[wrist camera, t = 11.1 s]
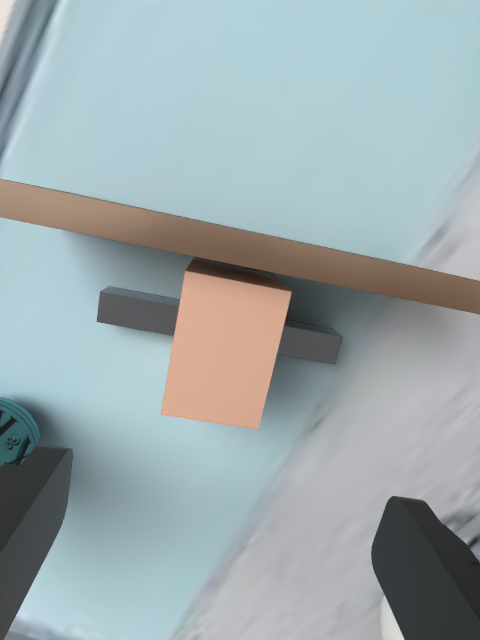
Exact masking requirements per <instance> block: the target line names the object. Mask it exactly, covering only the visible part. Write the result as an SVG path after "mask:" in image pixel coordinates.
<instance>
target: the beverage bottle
mask: <svg viewBox="0 0 480 640" xmlns="http://www.w3.org/2000/svg"><path fill="white" fill-rule="evenodd" d="M39 443H40V434H39V429H38V426H37V424H36V422H35V420H34V418H33V417H32V416H31V414H30V413H29V412H28V411H27V410H26V409H25V408H23V407H22V406H21V405H19V404H17V403H16V402H14V401H11V400H9V399H6V398H2V397H0V467H1V466H3V465H5V464H6V463H7V464H14V465H21V464H22V462H23V461H24V460H25V459H26V457H27V456H28V455H29V454H30V452H31V451H32V450H33V449H34V448H35V446H37V445H38V444H39Z"/></svg>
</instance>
